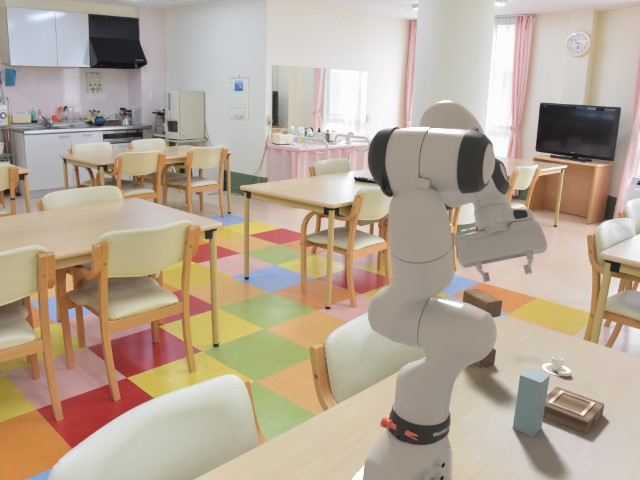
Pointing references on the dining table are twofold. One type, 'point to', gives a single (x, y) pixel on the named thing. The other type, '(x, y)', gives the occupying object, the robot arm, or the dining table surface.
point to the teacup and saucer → (557, 366)
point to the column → (531, 401)
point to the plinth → (572, 409)
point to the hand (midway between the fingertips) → (507, 277)
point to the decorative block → (488, 305)
